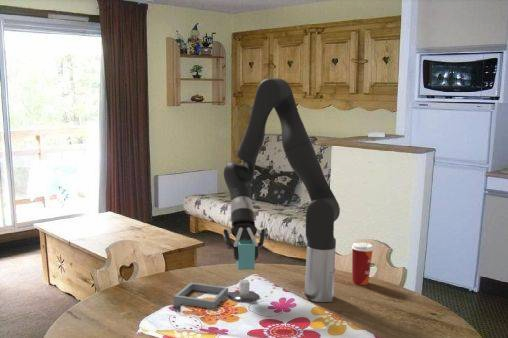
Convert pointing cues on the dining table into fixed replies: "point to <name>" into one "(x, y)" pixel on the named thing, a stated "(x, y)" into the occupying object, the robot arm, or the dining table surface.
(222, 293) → the charcoal tray
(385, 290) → the dining table surface
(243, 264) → the teal sleeve
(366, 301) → the dining table surface
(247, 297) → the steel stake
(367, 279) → the paper cup
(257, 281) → the dining table surface
